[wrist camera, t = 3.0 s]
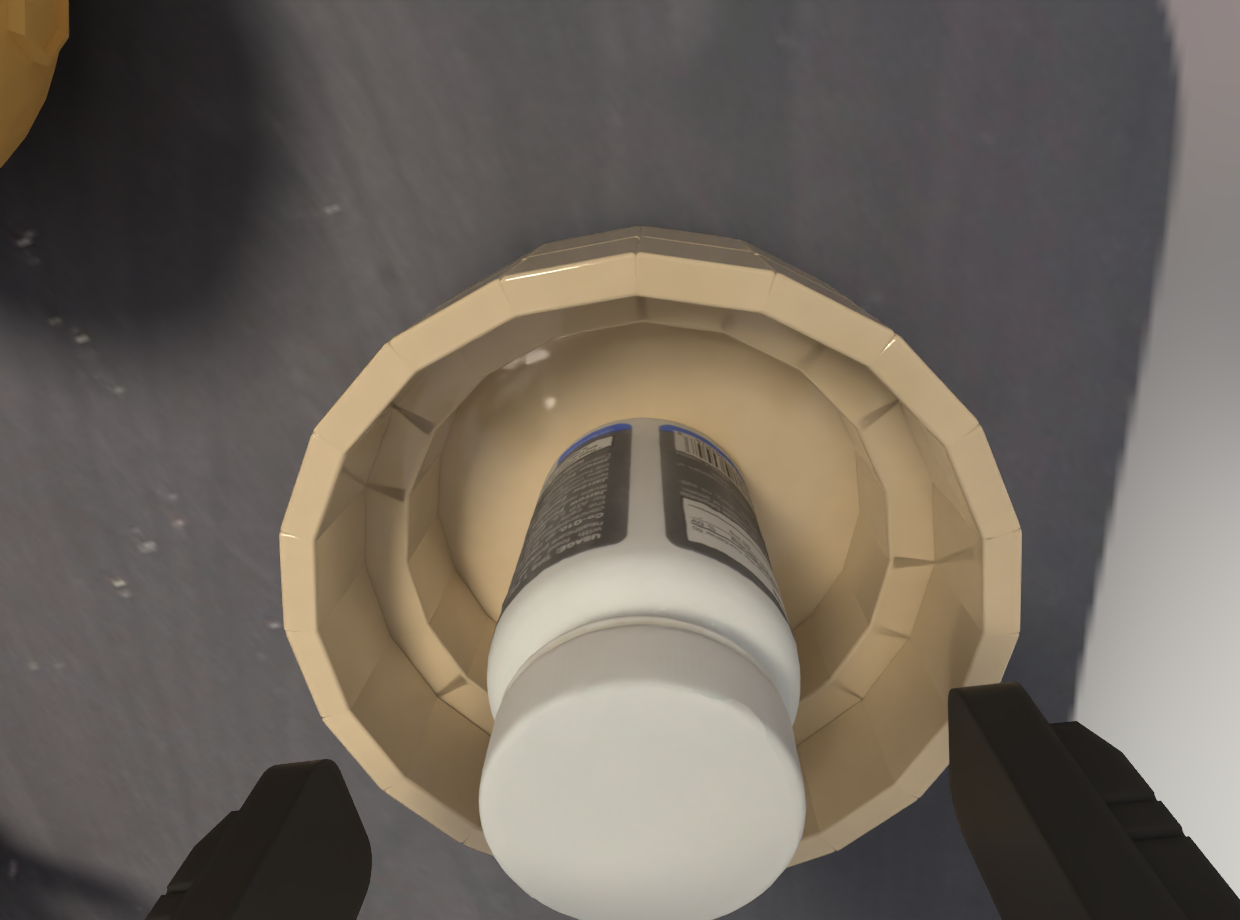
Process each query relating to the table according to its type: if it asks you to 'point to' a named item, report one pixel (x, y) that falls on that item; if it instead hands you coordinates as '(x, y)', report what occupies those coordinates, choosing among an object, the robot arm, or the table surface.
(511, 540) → the bowl
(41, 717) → the table surface
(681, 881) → the pill bottle
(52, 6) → the stress ball
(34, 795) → the table surface
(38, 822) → the table surface
